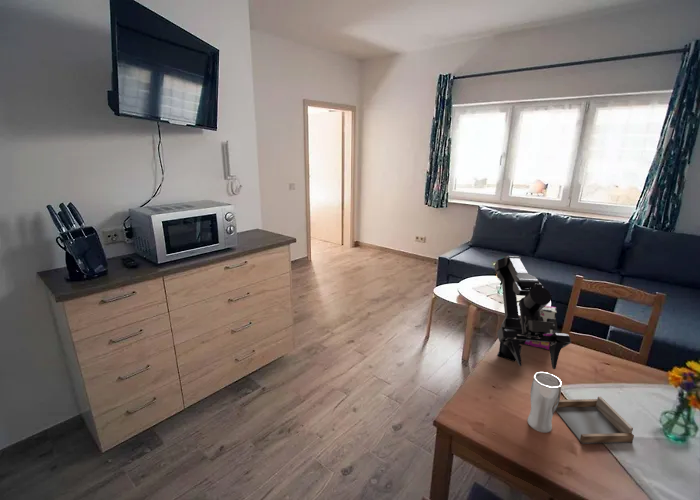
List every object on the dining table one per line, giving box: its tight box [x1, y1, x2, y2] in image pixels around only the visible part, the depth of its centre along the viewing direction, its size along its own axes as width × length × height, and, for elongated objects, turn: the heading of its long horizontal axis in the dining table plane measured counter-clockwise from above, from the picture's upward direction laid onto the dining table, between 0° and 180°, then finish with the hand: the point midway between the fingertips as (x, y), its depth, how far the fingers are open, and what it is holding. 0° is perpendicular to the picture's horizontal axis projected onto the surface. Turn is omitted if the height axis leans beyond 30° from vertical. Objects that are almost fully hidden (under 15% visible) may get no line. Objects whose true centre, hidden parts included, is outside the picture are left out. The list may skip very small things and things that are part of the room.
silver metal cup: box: [527, 371, 563, 434], centre depth 93 cm, size 7×7×15 cm
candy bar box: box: [523, 305, 558, 351], centre depth 132 cm, size 11×5×16 cm, turn 62°
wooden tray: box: [555, 396, 635, 445], centre depth 95 cm, size 13×13×4 cm
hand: (537, 367), depth 99 cm, fingers open, 9 cm apart
